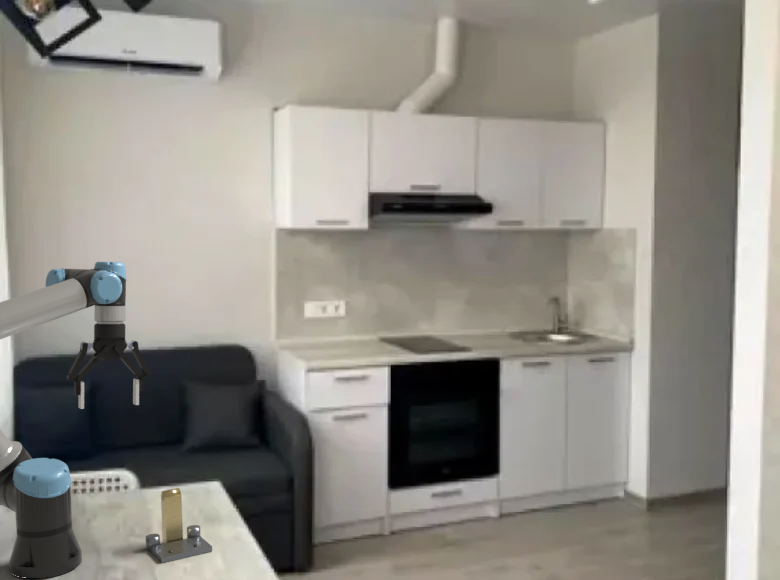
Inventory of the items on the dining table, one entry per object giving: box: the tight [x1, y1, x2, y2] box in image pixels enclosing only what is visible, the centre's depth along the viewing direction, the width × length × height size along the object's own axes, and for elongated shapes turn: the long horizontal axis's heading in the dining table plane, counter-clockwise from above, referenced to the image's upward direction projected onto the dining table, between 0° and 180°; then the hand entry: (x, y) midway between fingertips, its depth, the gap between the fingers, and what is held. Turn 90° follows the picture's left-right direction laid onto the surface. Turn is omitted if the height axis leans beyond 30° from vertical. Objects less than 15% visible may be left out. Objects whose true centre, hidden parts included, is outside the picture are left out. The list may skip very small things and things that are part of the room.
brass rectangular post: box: [160, 487, 184, 544], centre depth 204 cm, size 4×3×13 cm
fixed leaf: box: [145, 524, 213, 564], centre depth 200 cm, size 13×11×3 cm
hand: (109, 406), depth 215 cm, fingers open, 13 cm apart
